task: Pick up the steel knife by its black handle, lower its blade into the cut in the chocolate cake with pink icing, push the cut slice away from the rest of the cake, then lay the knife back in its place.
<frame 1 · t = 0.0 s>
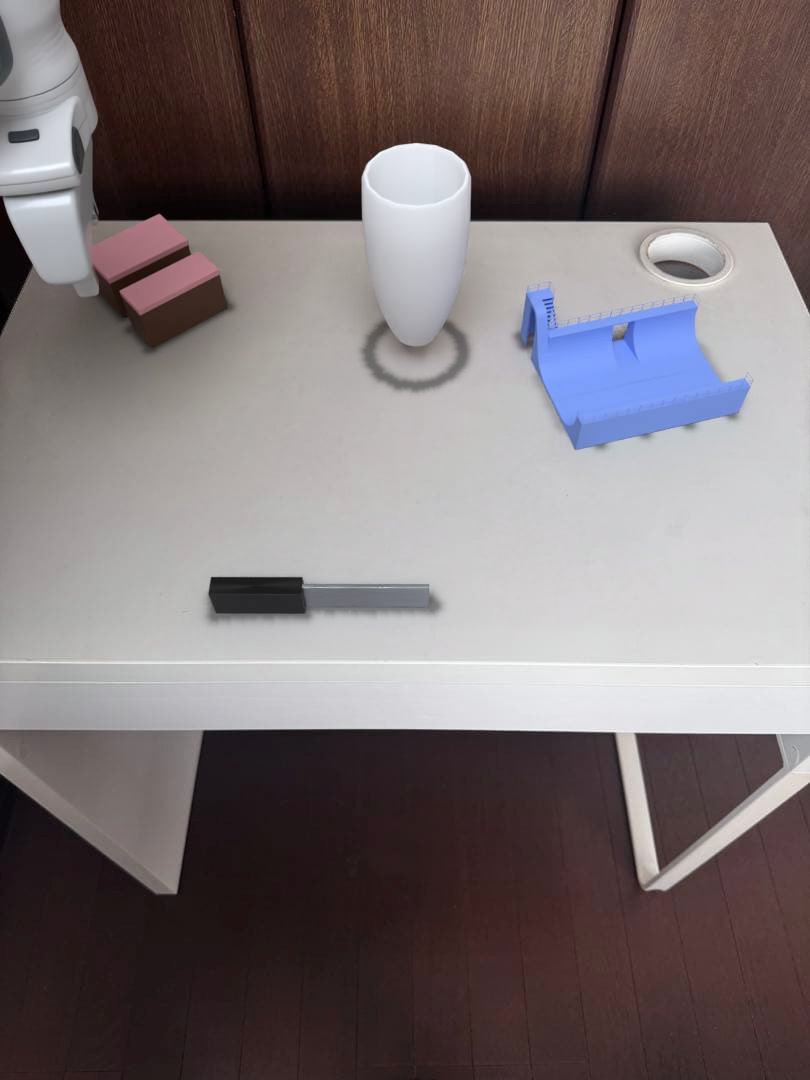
hand: (89, 255, 77), 18 cm above the table, tool pointing down, fingers open, 8 cm apart
knife: (306, 605, 78), on the table
cake slice: (180, 318, 98), on the table
half pipe: (625, 374, 93), on the table
cup: (415, 352, 95), on the table
cake: (147, 284, 101), on the table
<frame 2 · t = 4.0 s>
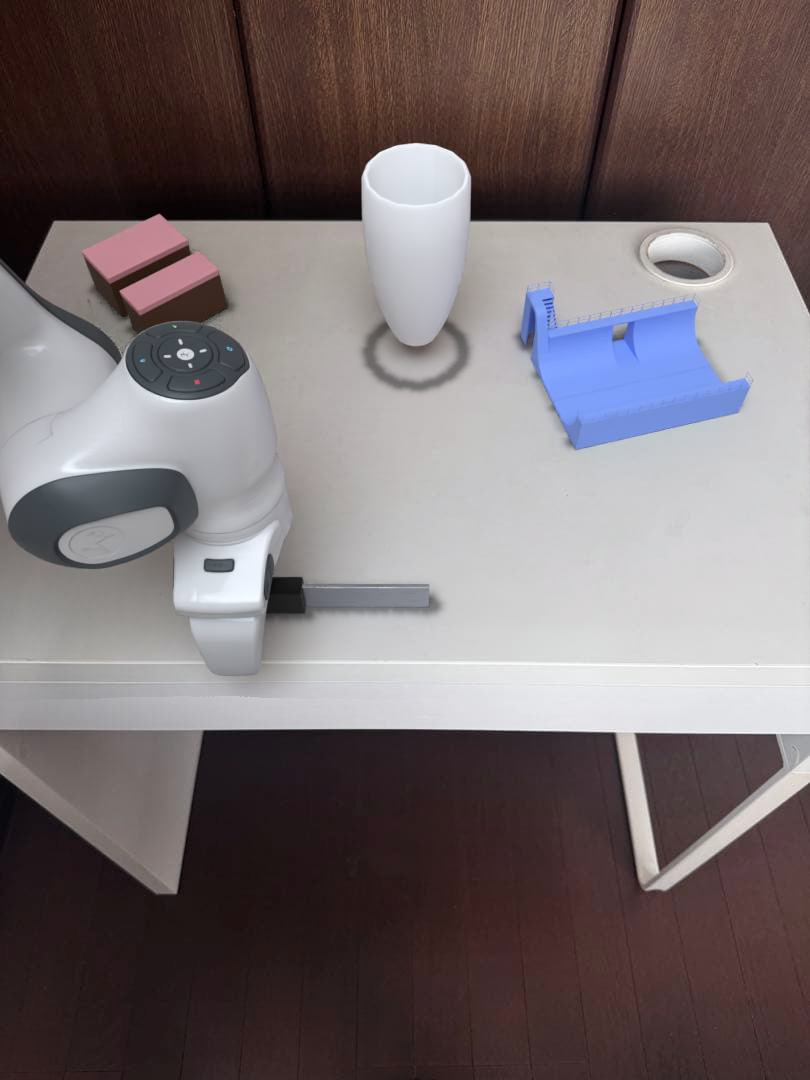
hand: (258, 596, 77), 2 cm above the table, tool pointing down, fingers closed on knife, 2 cm apart
knife: (306, 605, 78), on the table, touching gripper
everything else where it was.
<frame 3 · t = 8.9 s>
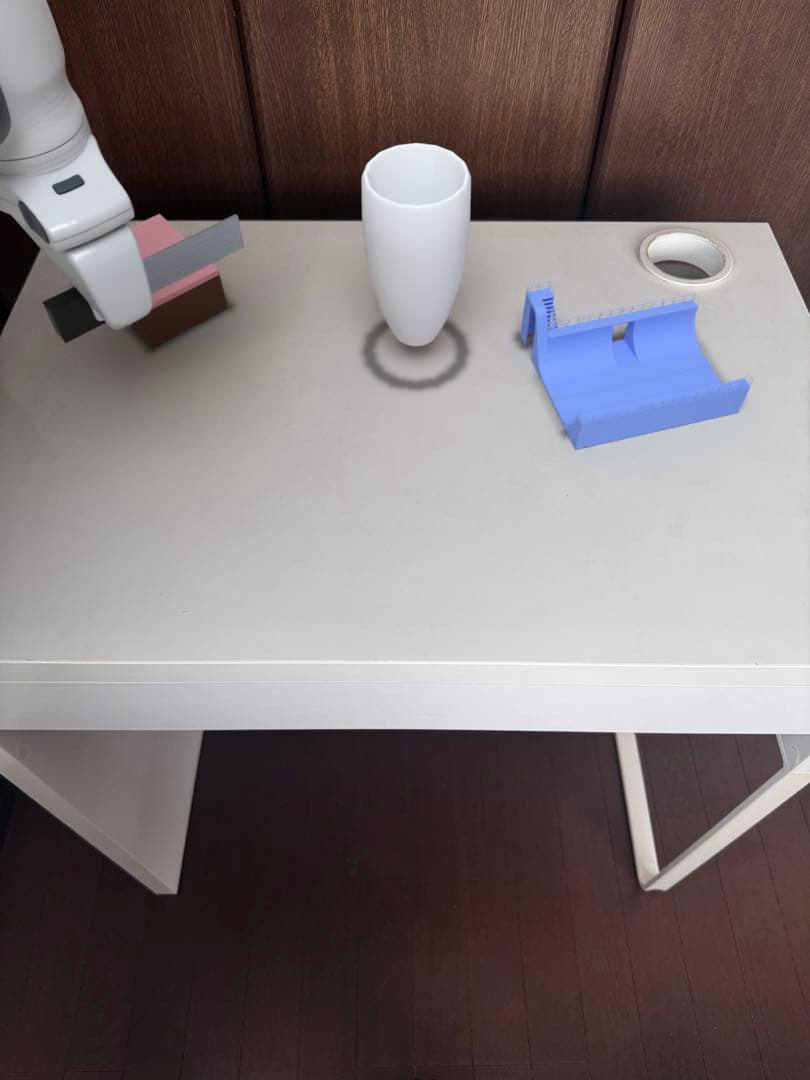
hand: (95, 304, 76), 16 cm above the table, tool pointing down, fingers closed on knife
knife: (141, 297, 79), point 15 cm above the table, touching gripper
everything else where it was.
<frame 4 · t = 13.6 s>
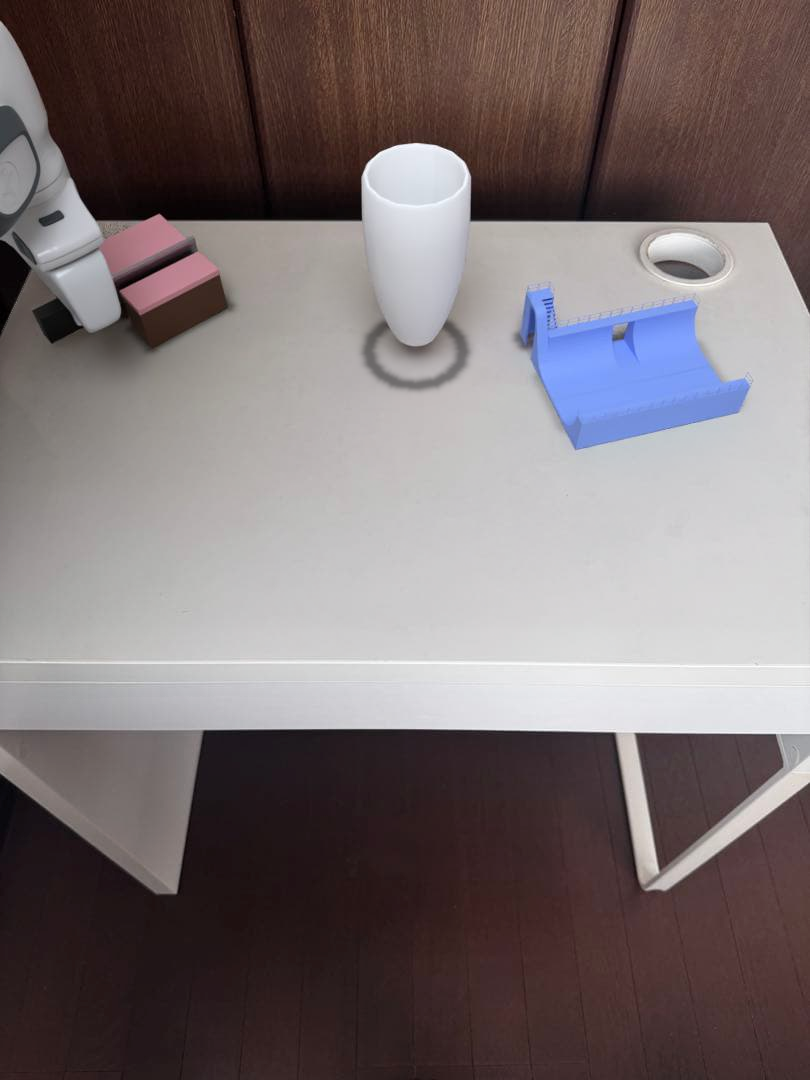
hand: (75, 311, 92), 5 cm above the table, tool pointing down, fingers closed on knife, 2 cm apart
knife: (114, 305, 95), point 3 cm above the table, touching gripper
everything else where it was.
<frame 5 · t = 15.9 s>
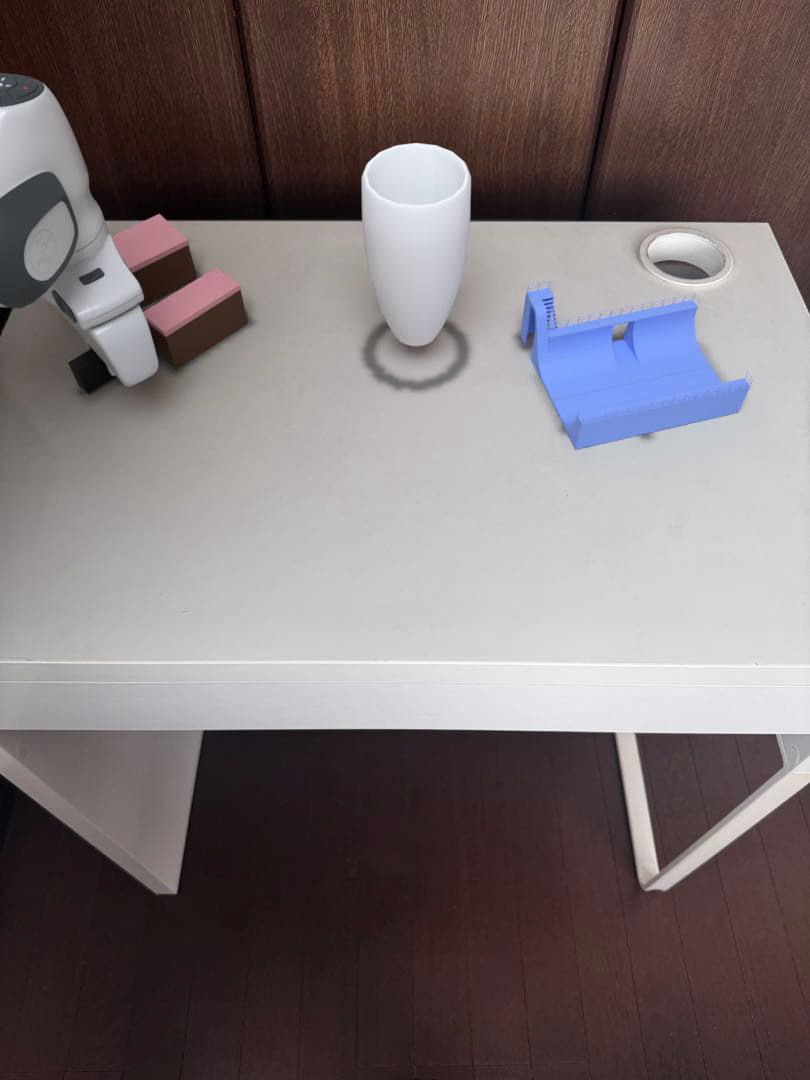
hand: (108, 360, 92), 2 cm above the table, tool pointing down, fingers closed on knife, 2 cm apart
knife: (145, 350, 95), point 1 cm above the table, touching cake slice, gripper
cake slice: (201, 337, 96), on the table, touching knife
everything else where it was.
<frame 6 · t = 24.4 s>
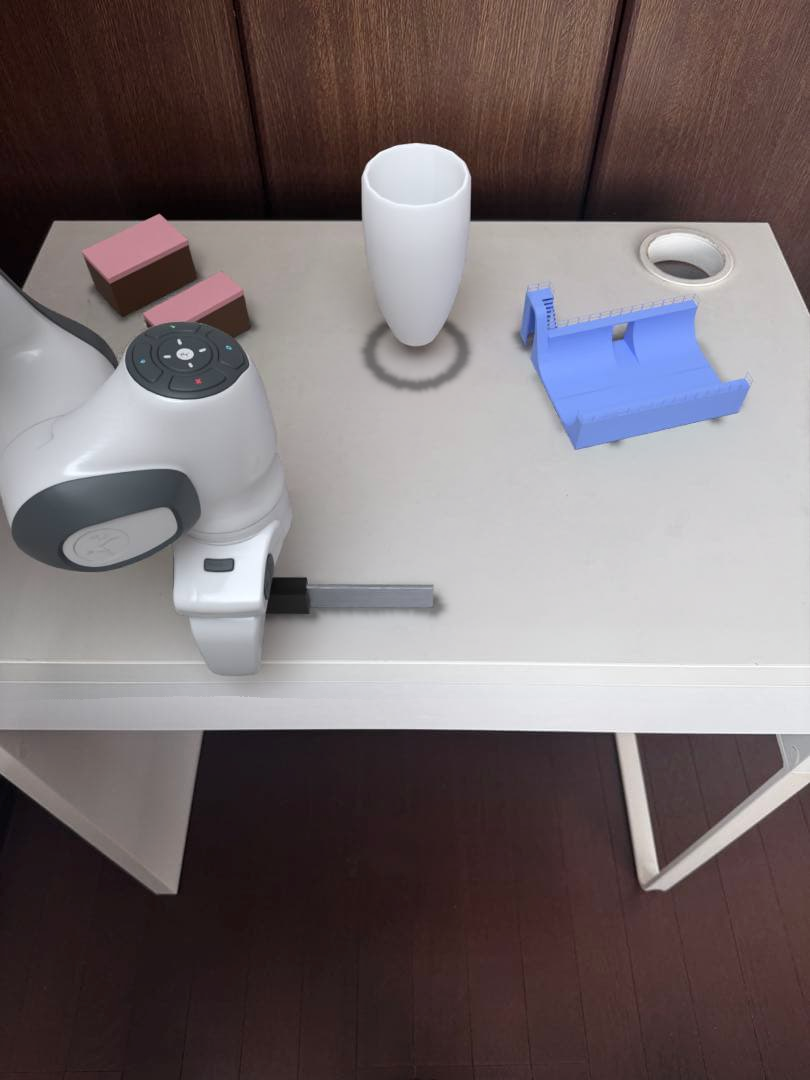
hand: (258, 596, 77), 2 cm above the table, tool pointing down, fingers open, 8 cm apart
knife: (310, 605, 78), on the table
cake slice: (203, 339, 96), on the table
everything else where it was.
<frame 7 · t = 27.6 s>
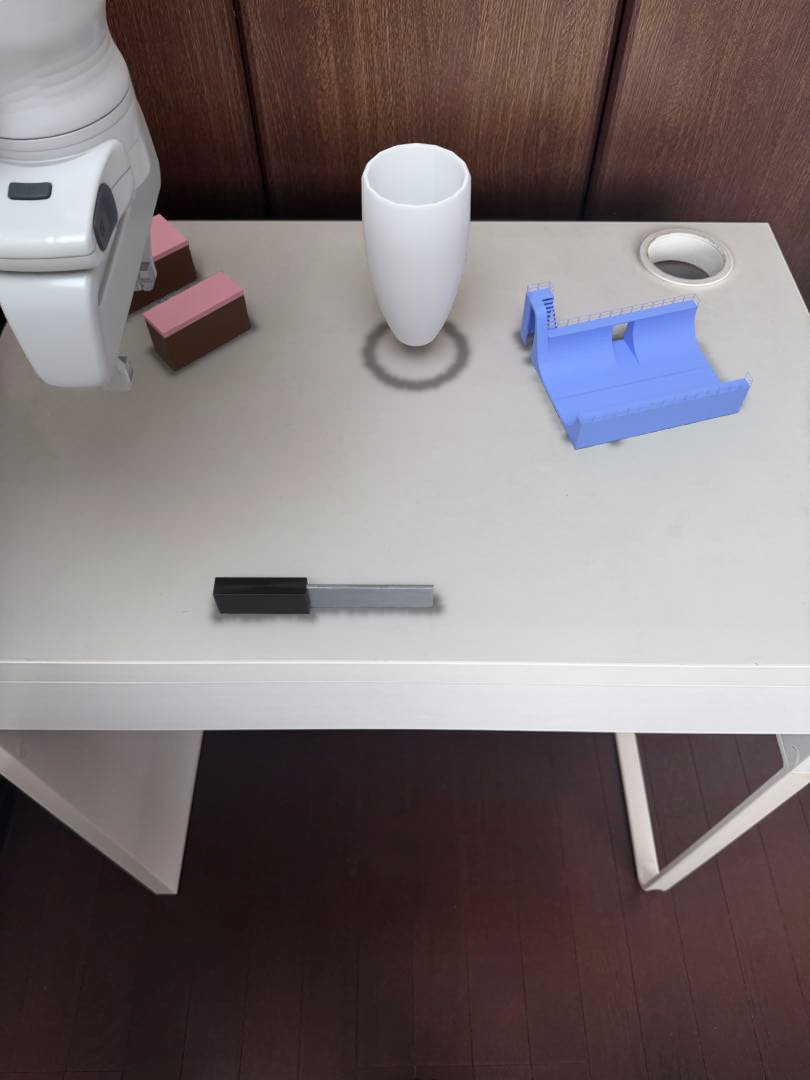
hand: (132, 331, 59), 27 cm above the table, tool pointing down, fingers open, 8 cm apart
nothing on the table moved.
at the end: cake slice moved 4.5 cm from its start; cake slice touching table; knife inside the target area (0.4 cm from its centre), on the table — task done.
